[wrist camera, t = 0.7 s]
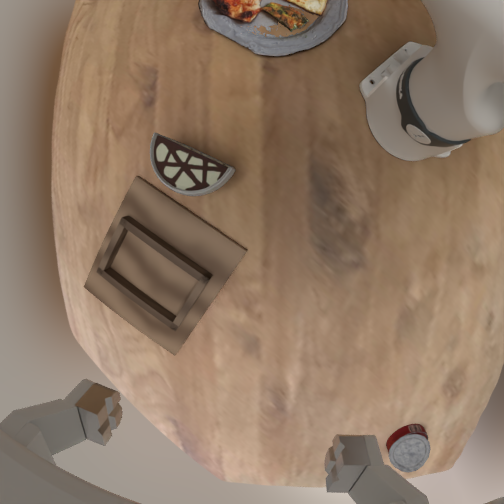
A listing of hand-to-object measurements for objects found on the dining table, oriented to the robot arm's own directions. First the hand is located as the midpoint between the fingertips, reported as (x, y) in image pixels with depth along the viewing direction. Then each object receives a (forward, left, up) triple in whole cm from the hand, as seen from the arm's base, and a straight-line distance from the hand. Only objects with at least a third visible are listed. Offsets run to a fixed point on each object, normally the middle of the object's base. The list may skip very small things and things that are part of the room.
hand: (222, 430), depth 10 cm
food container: (-3, -15, -40) cm, 43 cm away
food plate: (-36, -23, -40) cm, 58 cm away
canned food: (+19, +53, -40) cm, 69 cm away
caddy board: (+15, -13, -40) cm, 44 cm away
